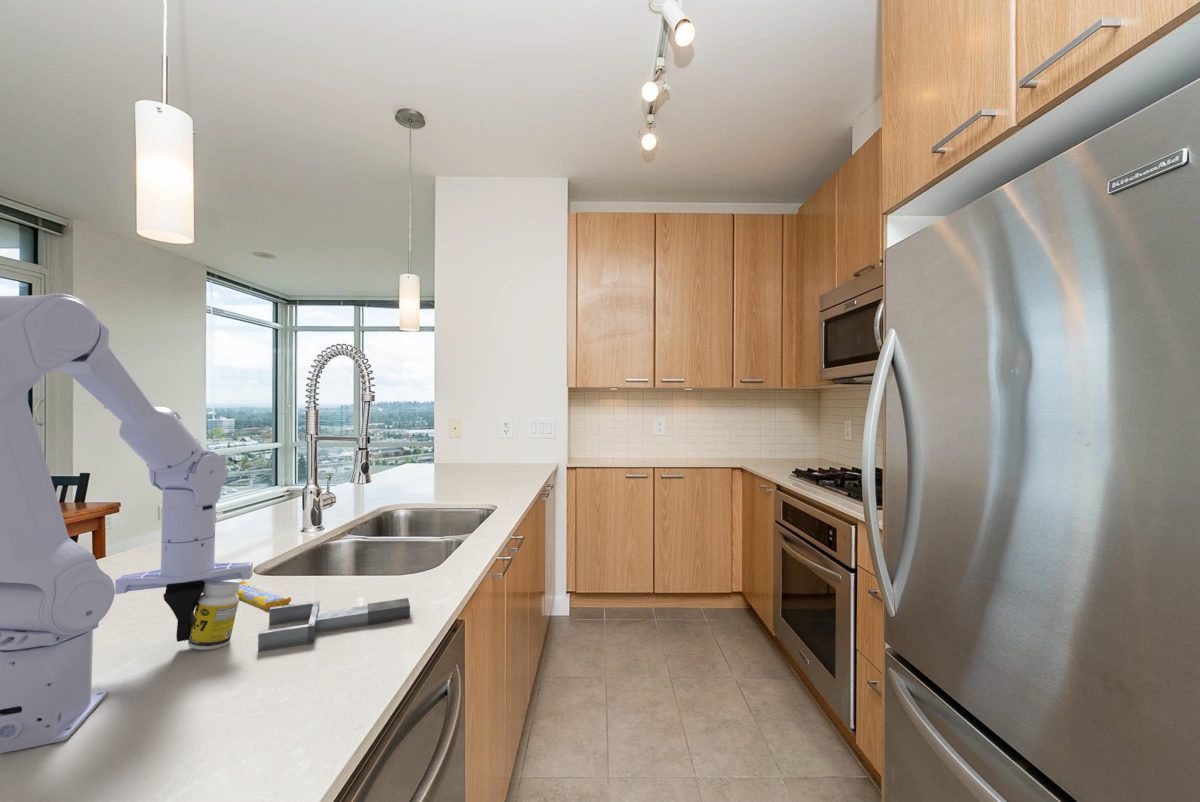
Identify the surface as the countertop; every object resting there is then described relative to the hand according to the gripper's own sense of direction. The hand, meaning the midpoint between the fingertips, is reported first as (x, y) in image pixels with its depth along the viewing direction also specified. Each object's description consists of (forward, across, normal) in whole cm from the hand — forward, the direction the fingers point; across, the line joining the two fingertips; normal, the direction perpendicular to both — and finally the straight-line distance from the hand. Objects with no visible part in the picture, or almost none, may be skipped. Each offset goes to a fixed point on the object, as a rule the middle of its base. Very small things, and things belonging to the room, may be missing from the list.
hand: (186, 637), depth 69 cm
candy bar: (+2, -5, -18) cm, 19 cm away
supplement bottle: (+1, -2, 0) cm, 3 cm away
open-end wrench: (+1, -19, 0) cm, 19 cm away
